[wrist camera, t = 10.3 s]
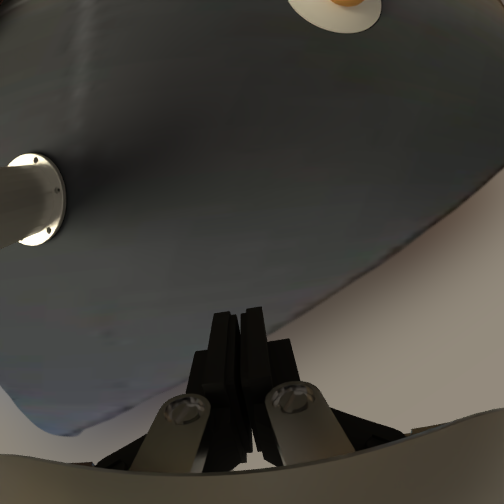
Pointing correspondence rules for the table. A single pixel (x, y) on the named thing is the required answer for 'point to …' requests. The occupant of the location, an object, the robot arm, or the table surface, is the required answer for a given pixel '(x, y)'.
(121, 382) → the table surface
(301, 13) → the disc
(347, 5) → the ball
